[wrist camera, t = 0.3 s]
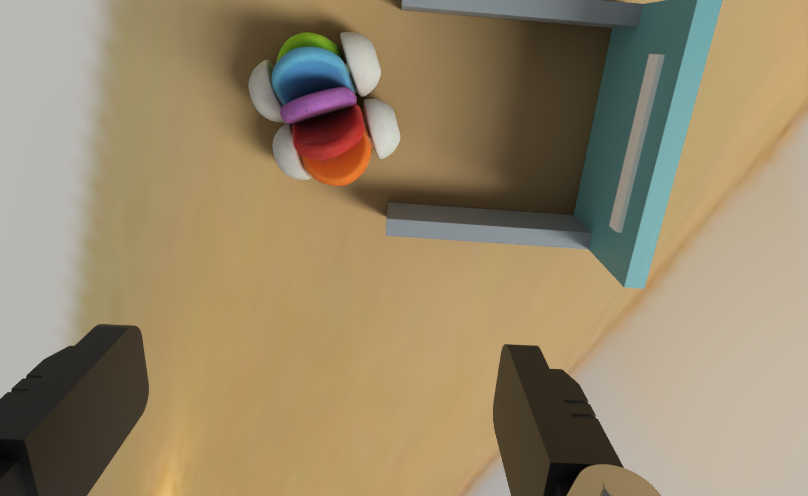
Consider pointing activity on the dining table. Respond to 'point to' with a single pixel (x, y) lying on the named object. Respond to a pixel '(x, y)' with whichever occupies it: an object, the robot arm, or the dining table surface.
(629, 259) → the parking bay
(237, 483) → the dining table surface
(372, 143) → the white-wheeled rainbow disc toy
